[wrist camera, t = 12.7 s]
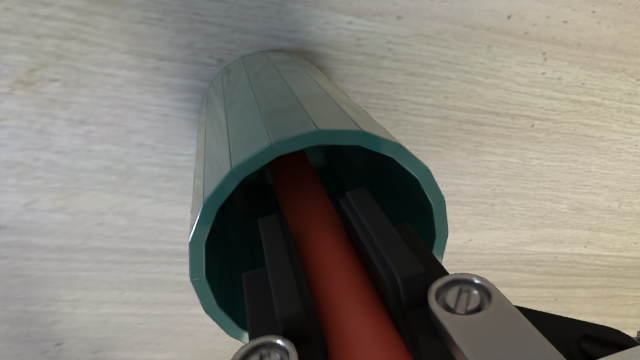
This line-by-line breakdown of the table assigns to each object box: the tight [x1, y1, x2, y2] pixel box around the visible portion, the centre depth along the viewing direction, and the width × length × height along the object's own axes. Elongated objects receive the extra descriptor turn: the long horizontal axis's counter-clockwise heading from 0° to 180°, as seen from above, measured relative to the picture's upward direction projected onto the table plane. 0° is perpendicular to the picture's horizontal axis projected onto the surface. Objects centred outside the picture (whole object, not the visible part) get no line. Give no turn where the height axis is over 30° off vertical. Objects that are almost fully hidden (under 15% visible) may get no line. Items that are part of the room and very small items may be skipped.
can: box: [189, 51, 448, 344], centre depth 17 cm, size 7×7×12 cm
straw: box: [267, 149, 414, 360], centre depth 14 cm, size 2×2×14 cm
